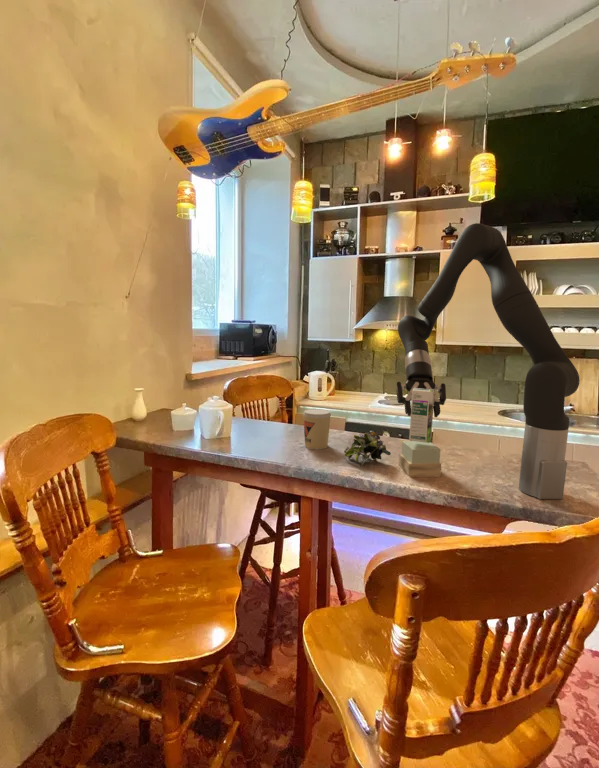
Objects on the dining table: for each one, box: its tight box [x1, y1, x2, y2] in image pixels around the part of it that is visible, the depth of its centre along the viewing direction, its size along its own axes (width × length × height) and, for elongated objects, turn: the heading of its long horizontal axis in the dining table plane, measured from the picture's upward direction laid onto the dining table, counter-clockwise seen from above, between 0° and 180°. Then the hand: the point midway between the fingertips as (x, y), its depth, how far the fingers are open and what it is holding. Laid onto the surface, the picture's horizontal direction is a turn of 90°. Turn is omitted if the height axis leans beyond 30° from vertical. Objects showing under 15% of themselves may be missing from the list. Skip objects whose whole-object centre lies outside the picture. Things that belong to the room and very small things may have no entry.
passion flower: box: [343, 431, 392, 467], centre depth 122 cm, size 11×11×12 cm
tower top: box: [400, 440, 441, 464], centre depth 116 cm, size 8×8×4 cm
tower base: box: [398, 453, 442, 478], centre depth 116 cm, size 9×9×4 cm
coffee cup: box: [302, 408, 332, 450], centre depth 138 cm, size 9×9×12 cm
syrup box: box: [408, 388, 435, 443], centre depth 114 cm, size 6×6×14 cm
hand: (423, 415), depth 112 cm, fingers closed on syrup box, 6 cm apart
